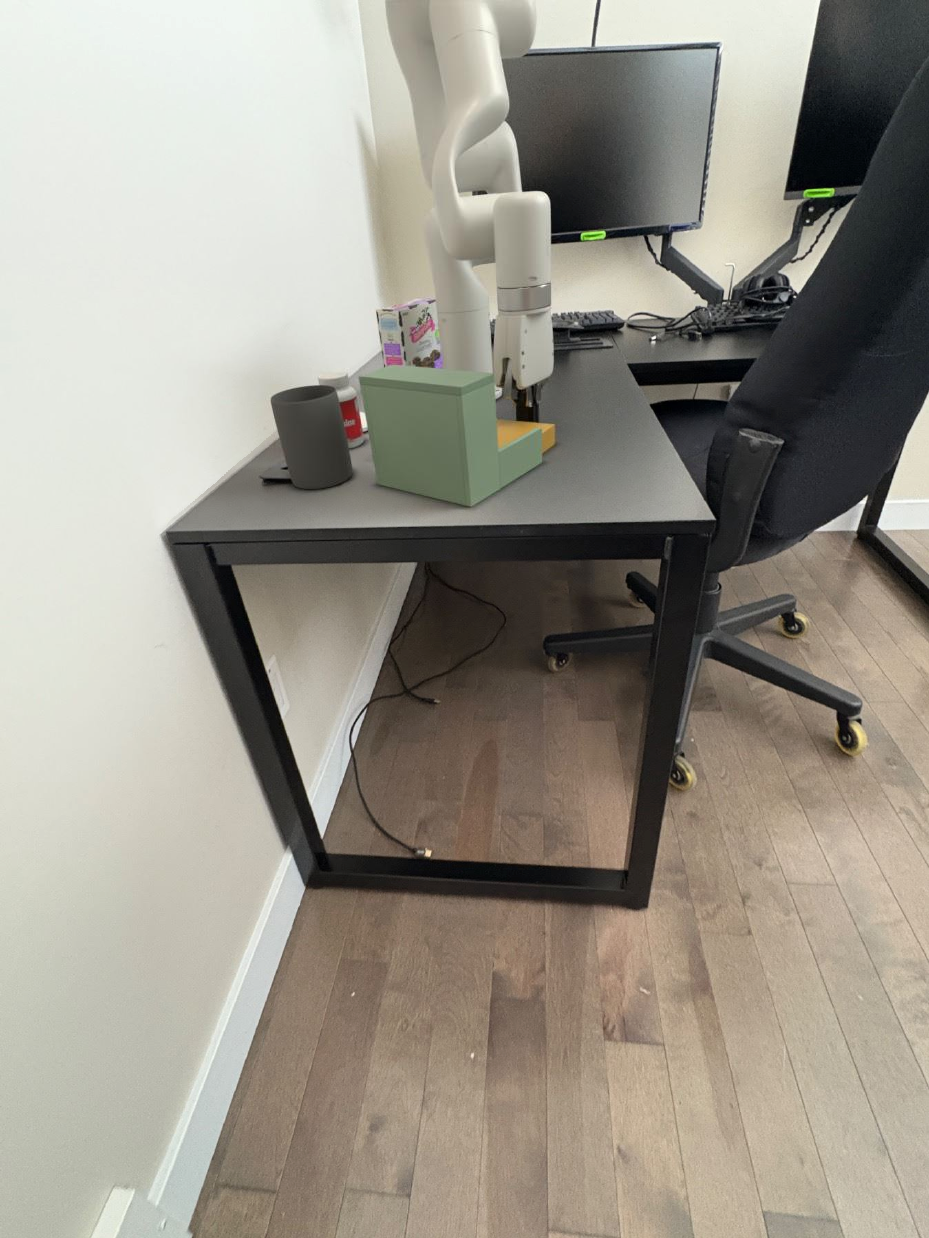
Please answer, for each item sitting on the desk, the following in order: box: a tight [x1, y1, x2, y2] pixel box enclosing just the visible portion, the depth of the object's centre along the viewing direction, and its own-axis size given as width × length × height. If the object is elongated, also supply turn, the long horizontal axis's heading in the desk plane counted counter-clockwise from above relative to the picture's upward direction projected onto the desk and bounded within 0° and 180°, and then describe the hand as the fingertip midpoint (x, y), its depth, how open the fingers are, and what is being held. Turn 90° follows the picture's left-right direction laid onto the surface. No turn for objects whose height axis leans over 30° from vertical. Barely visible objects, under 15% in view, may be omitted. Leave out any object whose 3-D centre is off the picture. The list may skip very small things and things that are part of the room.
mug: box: [270, 384, 353, 490], centre depth 86 cm, size 14×9×12 cm
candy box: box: [375, 298, 443, 369], centre depth 120 cm, size 14×6×16 cm, turn 148°
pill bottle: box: [317, 370, 365, 450], centre depth 97 cm, size 6×6×11 cm
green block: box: [358, 365, 543, 508], centre depth 81 cm, size 17×17×14 cm
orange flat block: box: [497, 418, 556, 454], centre depth 88 cm, size 15×11×3 cm
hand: (527, 429), depth 94 cm, fingers closed
